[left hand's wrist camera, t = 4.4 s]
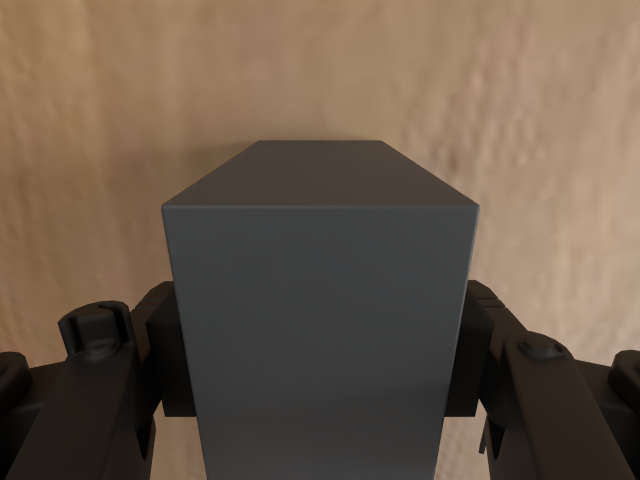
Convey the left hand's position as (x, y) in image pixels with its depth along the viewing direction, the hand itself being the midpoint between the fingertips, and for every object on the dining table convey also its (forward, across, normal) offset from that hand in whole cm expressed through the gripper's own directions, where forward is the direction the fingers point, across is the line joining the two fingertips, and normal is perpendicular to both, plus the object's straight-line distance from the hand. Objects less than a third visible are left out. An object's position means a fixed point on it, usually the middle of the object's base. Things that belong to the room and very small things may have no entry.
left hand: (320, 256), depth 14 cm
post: (+1, 0, -22) cm, 22 cm away
